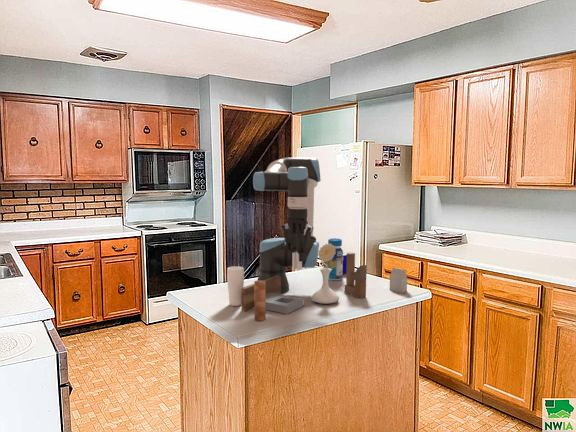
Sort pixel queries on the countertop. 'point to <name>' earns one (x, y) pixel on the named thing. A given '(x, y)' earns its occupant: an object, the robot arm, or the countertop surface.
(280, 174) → the robot arm
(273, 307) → the holed block
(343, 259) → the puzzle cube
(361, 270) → the wooden block
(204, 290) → the countertop surface
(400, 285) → the tea bag
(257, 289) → the dowel
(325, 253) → the flower in vase
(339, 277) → the beverage bottle
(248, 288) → the backstop board
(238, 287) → the drinking glass
